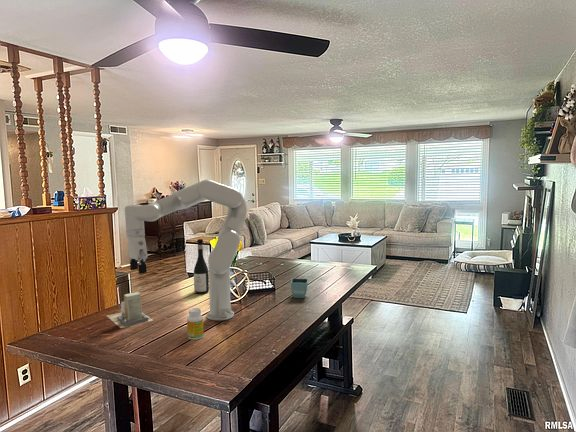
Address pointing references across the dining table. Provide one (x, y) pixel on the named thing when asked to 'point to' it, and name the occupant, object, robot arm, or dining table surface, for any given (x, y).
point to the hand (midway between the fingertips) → (138, 271)
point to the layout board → (121, 320)
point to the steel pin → (123, 308)
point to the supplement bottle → (195, 324)
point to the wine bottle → (201, 272)
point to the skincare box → (133, 306)
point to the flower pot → (299, 287)
